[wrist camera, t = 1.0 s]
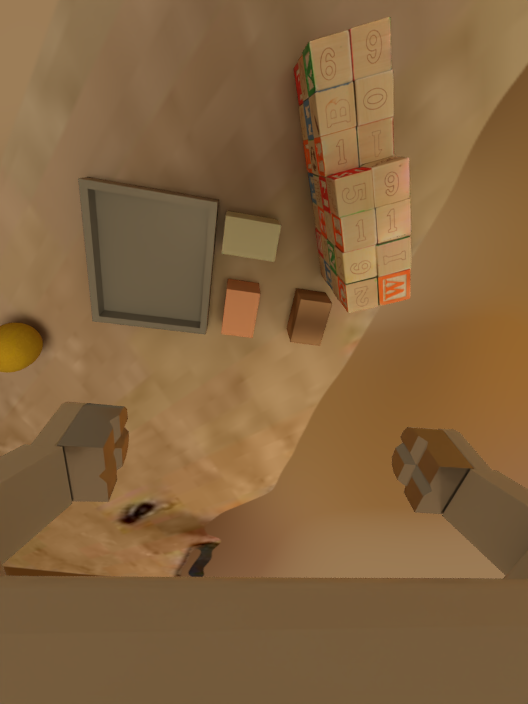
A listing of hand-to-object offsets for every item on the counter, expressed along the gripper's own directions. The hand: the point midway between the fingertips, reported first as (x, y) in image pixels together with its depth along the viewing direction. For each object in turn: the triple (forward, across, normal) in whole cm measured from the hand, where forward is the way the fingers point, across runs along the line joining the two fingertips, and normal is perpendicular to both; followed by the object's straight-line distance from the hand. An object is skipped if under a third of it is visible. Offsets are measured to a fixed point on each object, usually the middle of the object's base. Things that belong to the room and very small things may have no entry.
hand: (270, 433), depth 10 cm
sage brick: (+34, 0, -1) cm, 34 cm away
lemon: (+35, +27, +16) cm, 47 cm away
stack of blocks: (+34, -9, -8) cm, 36 cm away
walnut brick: (+35, -9, +8) cm, 37 cm away
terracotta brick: (+35, 0, +8) cm, 36 cm away
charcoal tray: (+34, +10, +4) cm, 36 cm away
